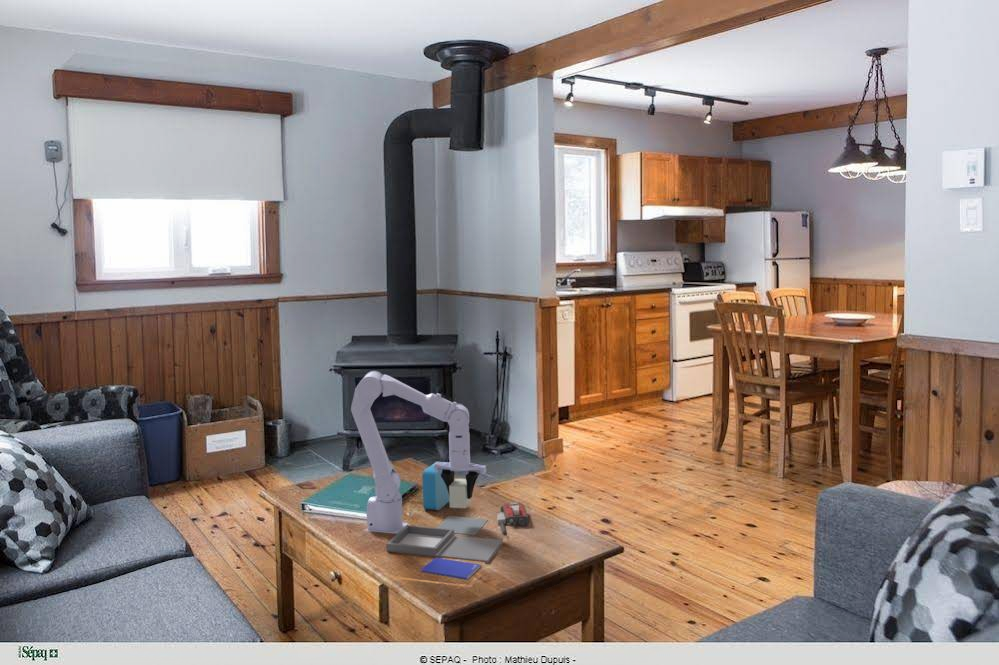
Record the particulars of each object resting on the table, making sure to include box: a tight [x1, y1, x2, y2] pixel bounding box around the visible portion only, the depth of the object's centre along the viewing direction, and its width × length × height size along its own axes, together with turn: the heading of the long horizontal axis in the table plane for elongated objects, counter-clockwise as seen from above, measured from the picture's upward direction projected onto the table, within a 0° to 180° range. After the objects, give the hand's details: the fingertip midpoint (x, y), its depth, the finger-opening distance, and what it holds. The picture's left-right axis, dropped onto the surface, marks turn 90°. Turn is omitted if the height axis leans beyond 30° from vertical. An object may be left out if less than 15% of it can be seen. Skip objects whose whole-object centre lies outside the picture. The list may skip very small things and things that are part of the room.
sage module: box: [449, 478, 473, 509], centre depth 219 cm, size 4×7×6 cm, turn 168°
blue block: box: [421, 462, 450, 511], centre depth 238 cm, size 12×4×12 cm, turn 161°
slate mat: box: [436, 515, 489, 536], centre depth 220 cm, size 12×12×1 cm
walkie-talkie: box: [496, 502, 530, 535], centre depth 223 cm, size 9×4×20 cm
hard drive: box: [420, 557, 482, 580], centre depth 192 cm, size 2×8×12 cm
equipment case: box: [385, 524, 504, 564], centre depth 206 cm, size 27×14×2 cm, turn 74°
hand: (460, 497), depth 219 cm, fingers closed on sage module, 5 cm apart
